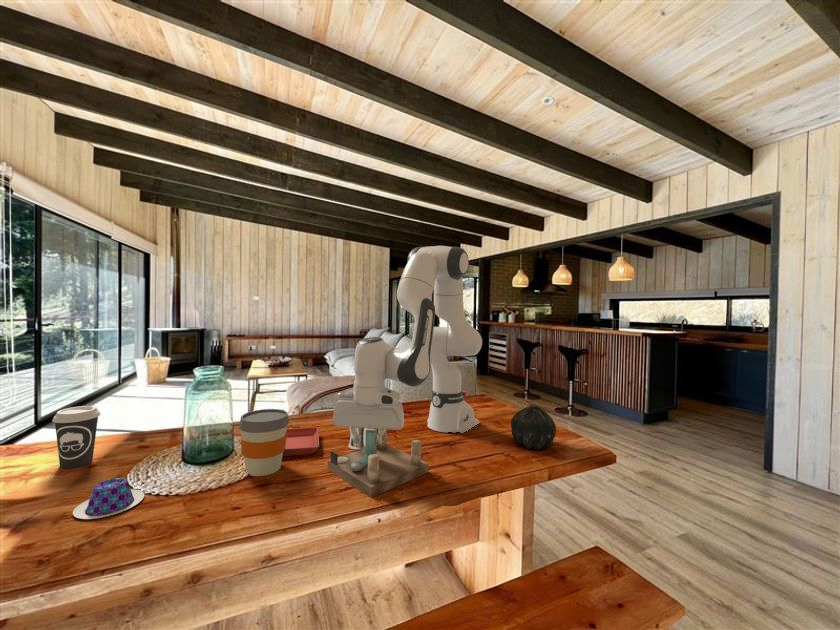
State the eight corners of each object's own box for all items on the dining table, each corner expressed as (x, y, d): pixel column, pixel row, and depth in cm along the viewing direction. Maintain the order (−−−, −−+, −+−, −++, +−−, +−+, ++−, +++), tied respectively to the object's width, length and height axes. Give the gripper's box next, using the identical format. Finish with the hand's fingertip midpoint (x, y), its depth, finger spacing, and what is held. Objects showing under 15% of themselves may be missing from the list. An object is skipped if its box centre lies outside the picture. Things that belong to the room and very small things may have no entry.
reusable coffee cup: (256, 484, 90) (257, 425, 89) (228, 470, 96) (229, 416, 96) (297, 466, 100) (298, 413, 100) (269, 455, 107) (270, 406, 107)
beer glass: (364, 451, 112) (365, 404, 112) (344, 449, 113) (345, 402, 113) (371, 443, 119) (373, 399, 119) (352, 441, 120) (353, 397, 120)
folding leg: (359, 472, 92) (360, 443, 91) (348, 469, 93) (349, 441, 92) (378, 455, 102) (378, 429, 102) (368, 453, 103) (368, 428, 103)
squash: (534, 419, 133) (518, 392, 127) (570, 433, 121) (554, 404, 115) (513, 449, 128) (495, 423, 122) (548, 466, 116) (530, 438, 110)
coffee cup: (107, 459, 101) (108, 407, 100) (65, 474, 92) (65, 416, 91) (86, 454, 104) (87, 403, 104) (43, 467, 95) (43, 412, 95)
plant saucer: (317, 435, 125) (318, 426, 125) (319, 456, 108) (319, 445, 108) (262, 439, 120) (262, 430, 120) (254, 462, 103) (254, 451, 103)
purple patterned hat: (110, 524, 72) (111, 499, 72) (55, 520, 73) (56, 495, 73) (157, 493, 84) (157, 472, 84) (110, 490, 85) (110, 469, 85)
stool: (383, 450, 113) (383, 424, 113) (428, 472, 99) (429, 442, 99) (327, 469, 99) (328, 439, 99) (370, 497, 85) (371, 462, 85)
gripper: (329, 395, 99) (328, 444, 99) (402, 399, 96) (400, 449, 97) (337, 390, 105) (336, 436, 105) (405, 393, 103) (404, 440, 103)
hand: (367, 442), depth 101 cm, fingers open, 5 cm apart
